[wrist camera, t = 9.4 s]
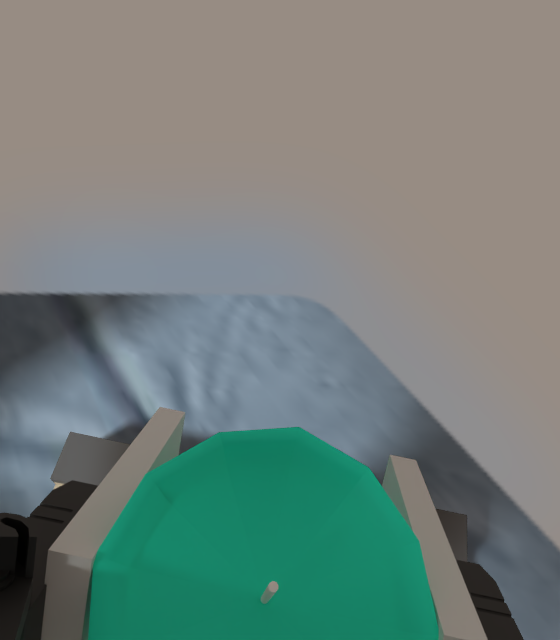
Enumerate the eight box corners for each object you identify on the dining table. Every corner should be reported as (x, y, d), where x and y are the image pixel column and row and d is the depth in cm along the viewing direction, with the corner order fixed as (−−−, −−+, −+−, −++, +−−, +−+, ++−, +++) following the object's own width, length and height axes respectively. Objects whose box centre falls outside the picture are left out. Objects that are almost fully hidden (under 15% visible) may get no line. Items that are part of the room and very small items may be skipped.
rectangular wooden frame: (-42, 762, 23) (-75, 776, 20) (82, 450, 30) (70, 431, 28) (442, 871, 22) (470, 900, 20) (446, 526, 30) (466, 515, 27)
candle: (184, 514, 19) (140, 361, 9) (345, 551, 19) (479, 435, 9) (127, 714, 16) (-36, 813, 6) (319, 761, 16) (483, 944, 6)
